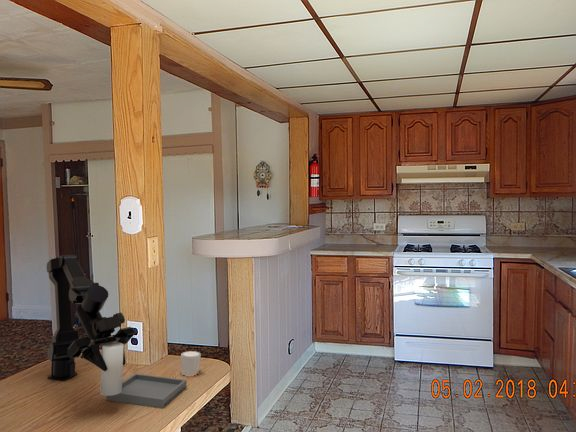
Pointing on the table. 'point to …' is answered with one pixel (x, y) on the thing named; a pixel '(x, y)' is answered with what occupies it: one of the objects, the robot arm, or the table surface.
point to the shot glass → (190, 362)
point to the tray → (149, 390)
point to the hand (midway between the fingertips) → (115, 367)
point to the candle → (112, 369)
